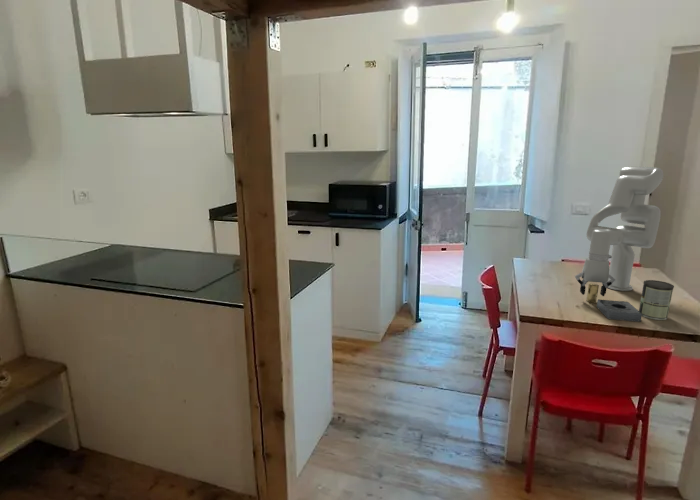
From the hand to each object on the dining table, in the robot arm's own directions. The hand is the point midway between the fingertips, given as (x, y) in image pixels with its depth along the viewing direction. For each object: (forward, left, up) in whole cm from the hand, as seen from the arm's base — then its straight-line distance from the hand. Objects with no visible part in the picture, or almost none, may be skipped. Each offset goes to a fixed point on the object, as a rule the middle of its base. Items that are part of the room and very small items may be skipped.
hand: (592, 294), depth 194 cm
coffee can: (+12, +20, -4) cm, 24 cm away
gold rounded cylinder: (0, 0, -3) cm, 3 cm away
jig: (+14, +6, -3) cm, 16 cm away
